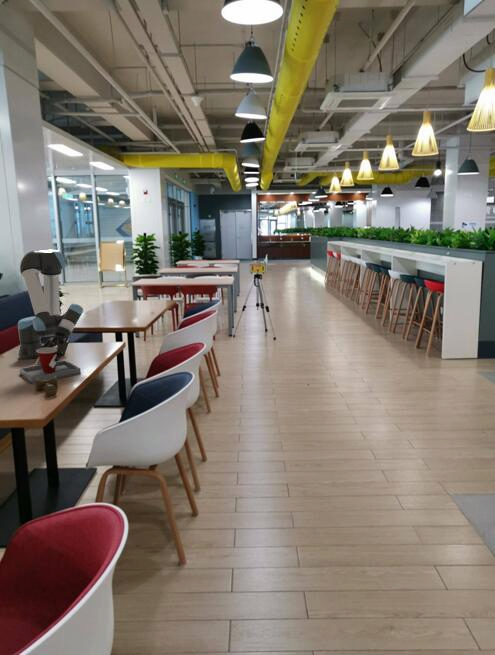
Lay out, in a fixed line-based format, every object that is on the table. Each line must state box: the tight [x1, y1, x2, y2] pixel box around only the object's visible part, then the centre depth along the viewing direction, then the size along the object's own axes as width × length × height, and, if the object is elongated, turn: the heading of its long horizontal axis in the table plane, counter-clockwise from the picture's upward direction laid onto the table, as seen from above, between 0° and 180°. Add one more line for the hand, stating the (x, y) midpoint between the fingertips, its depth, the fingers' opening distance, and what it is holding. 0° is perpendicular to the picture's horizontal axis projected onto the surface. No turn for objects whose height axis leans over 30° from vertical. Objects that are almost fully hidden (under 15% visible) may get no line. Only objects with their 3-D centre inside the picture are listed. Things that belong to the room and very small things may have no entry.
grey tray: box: [19, 359, 82, 385], centre depth 260 cm, size 24×24×3 cm
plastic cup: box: [36, 347, 58, 373], centre depth 259 cm, size 11×11×12 cm
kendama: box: [34, 376, 59, 397], centre depth 232 cm, size 6×10×20 cm
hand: (44, 365), depth 257 cm, fingers closed on plastic cup, 9 cm apart
